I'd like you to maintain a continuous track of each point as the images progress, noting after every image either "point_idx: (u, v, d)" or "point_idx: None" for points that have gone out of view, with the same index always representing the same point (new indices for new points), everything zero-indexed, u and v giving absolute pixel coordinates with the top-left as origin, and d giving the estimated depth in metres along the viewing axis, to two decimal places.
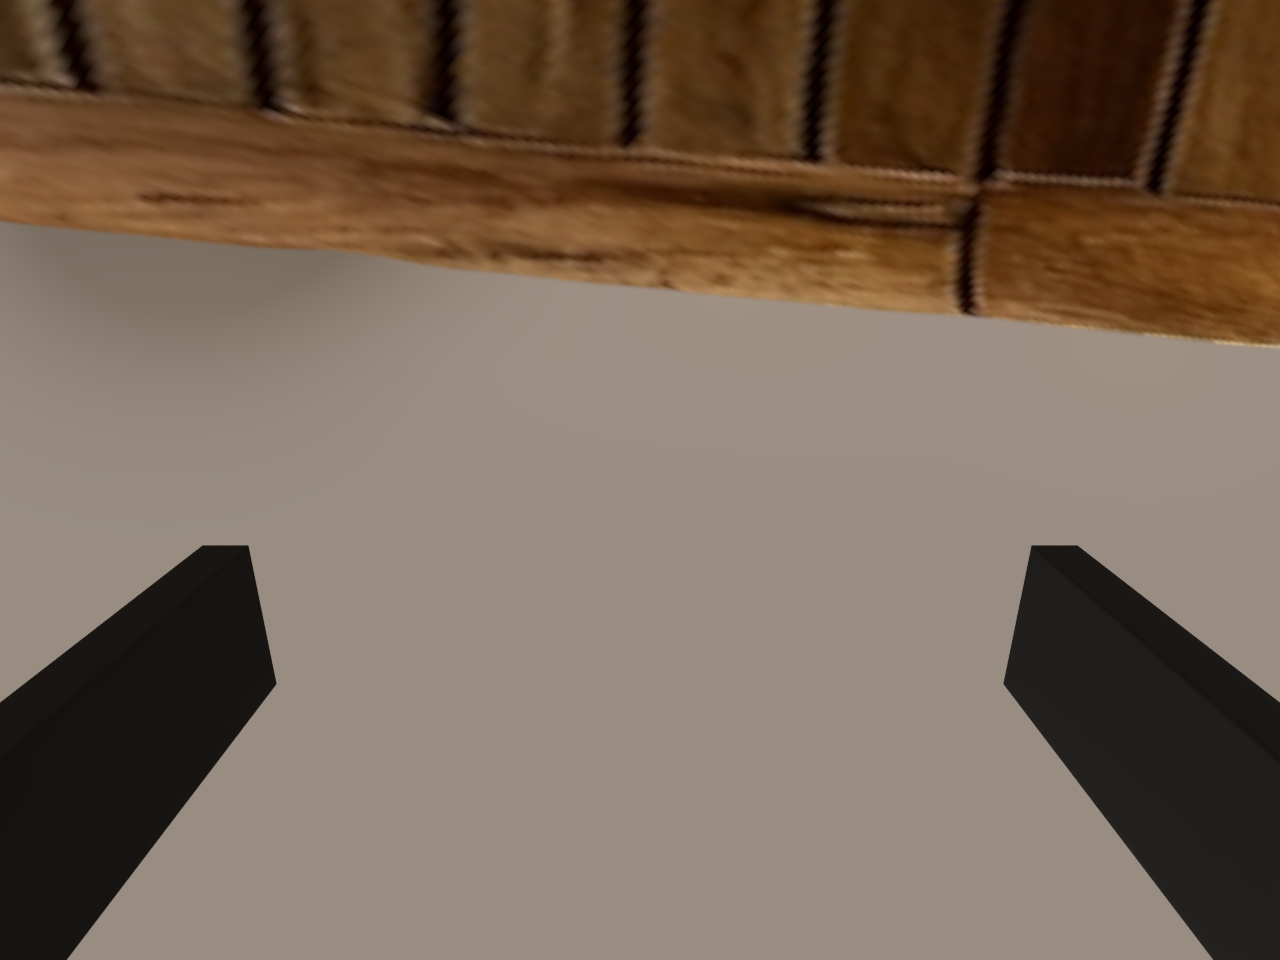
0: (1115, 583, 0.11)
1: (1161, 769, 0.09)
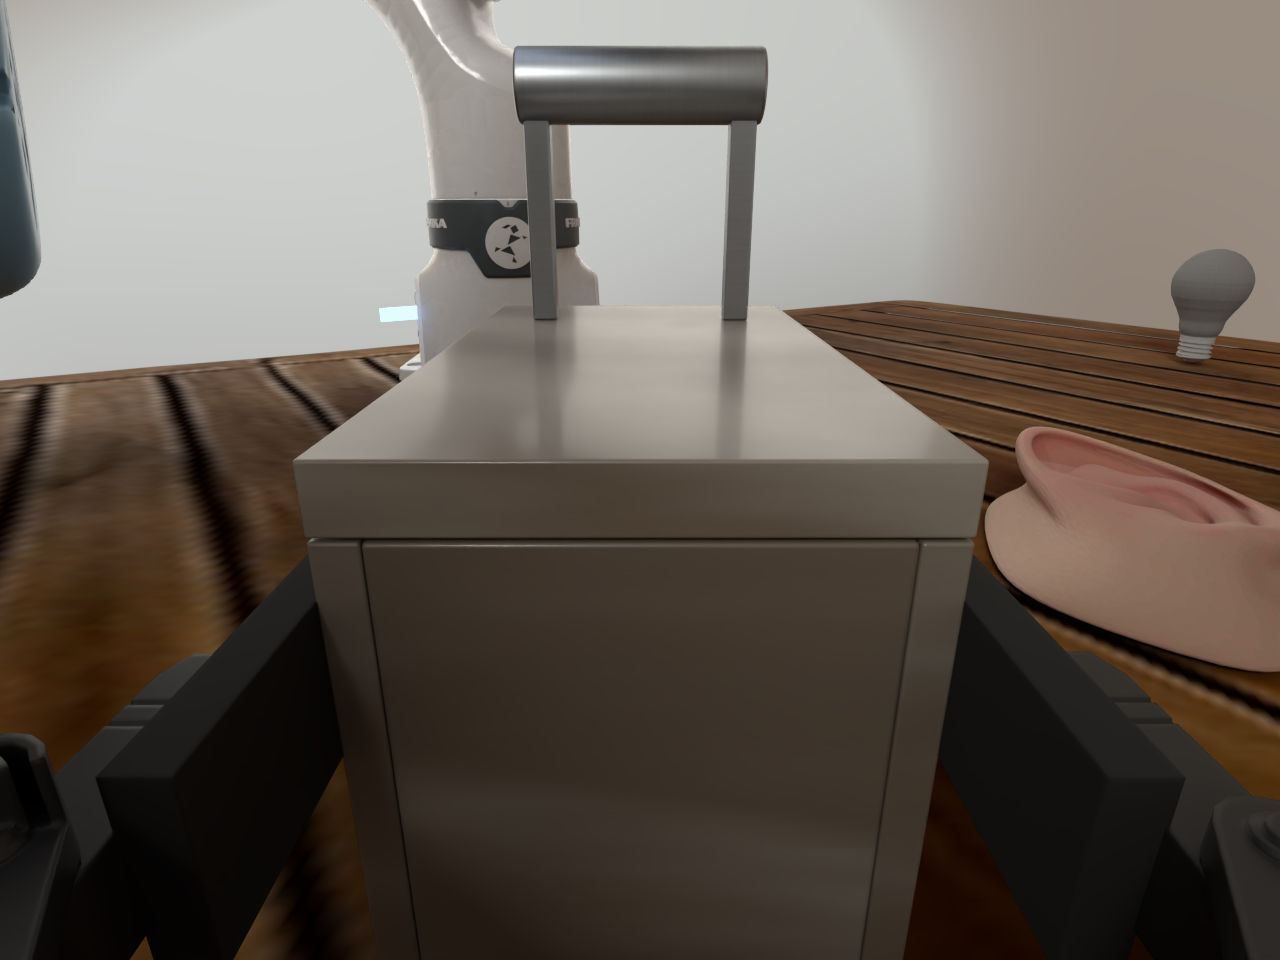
0: None
1: (968, 705, 0.10)
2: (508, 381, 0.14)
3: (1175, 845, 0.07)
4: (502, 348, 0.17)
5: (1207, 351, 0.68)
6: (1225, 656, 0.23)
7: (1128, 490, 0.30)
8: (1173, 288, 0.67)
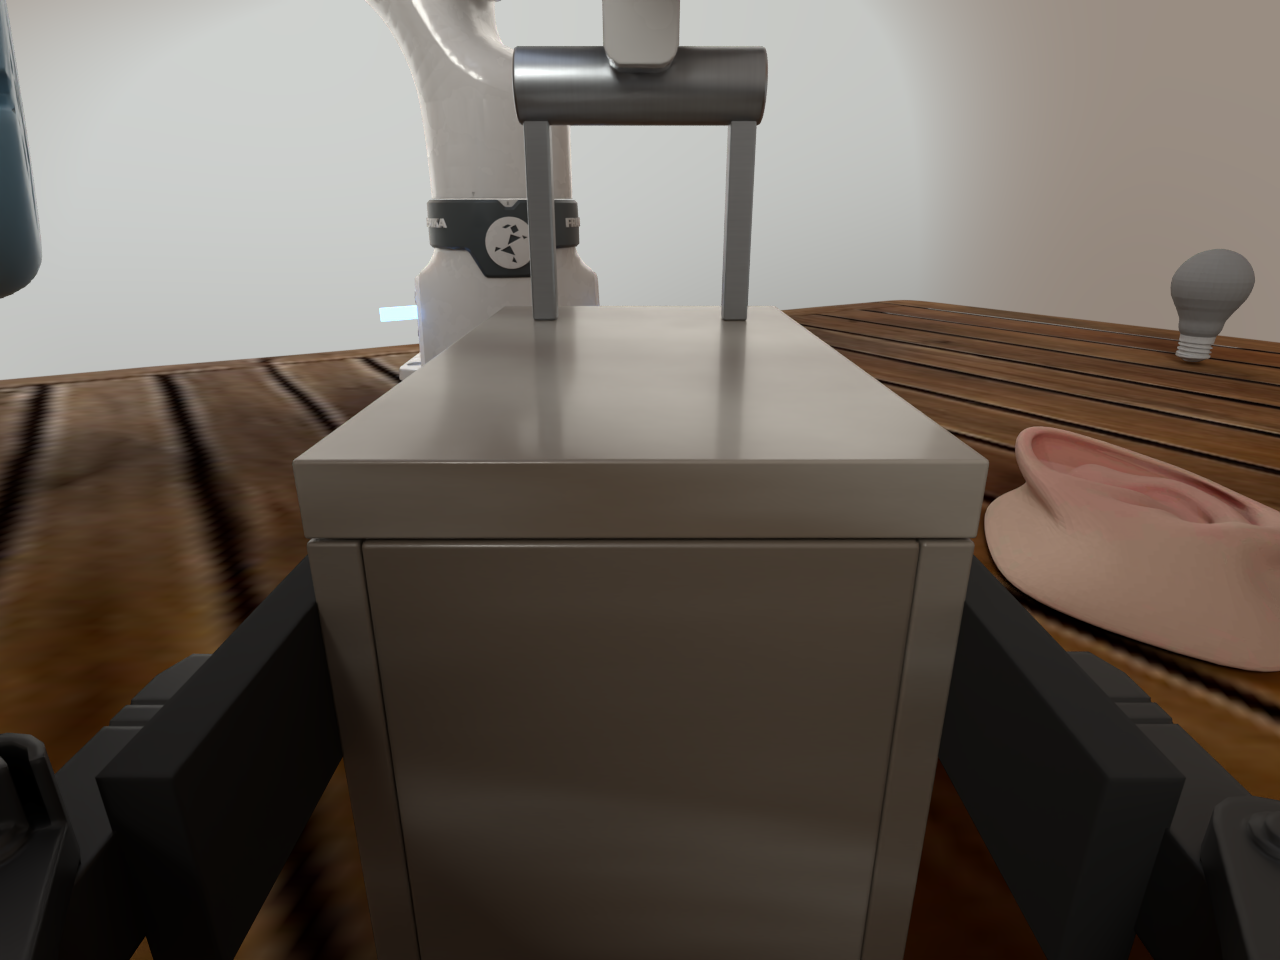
0: None
1: (968, 704, 0.10)
2: (508, 381, 0.14)
3: (1175, 844, 0.07)
4: (502, 348, 0.17)
5: (1207, 351, 0.68)
6: (1224, 656, 0.23)
7: (1127, 490, 0.30)
8: (1173, 288, 0.67)
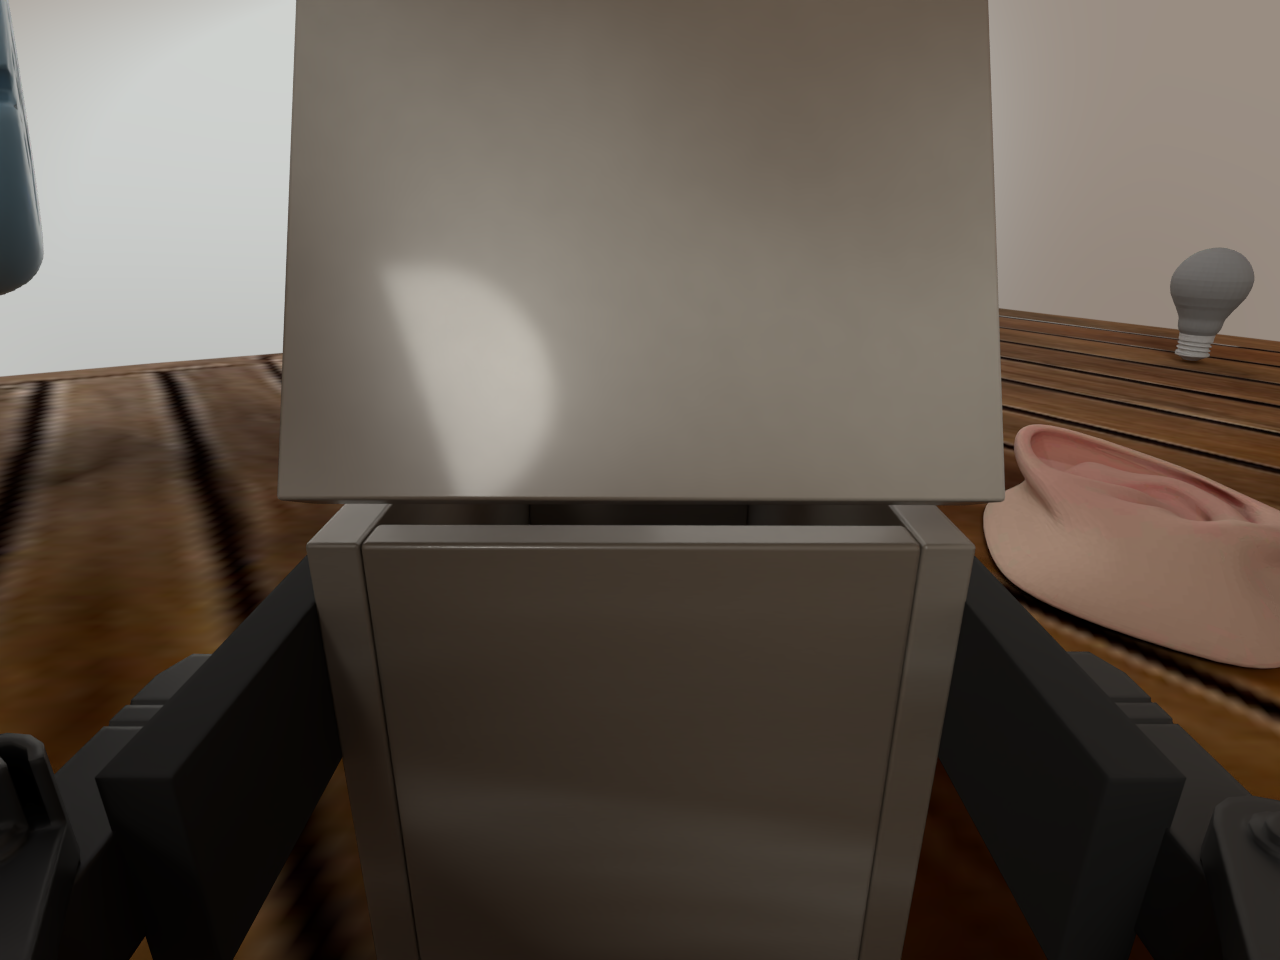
0: None
1: (967, 704, 0.10)
2: (449, 139, 0.10)
3: (1175, 845, 0.07)
4: None
5: (1206, 349, 0.68)
6: (1221, 652, 0.23)
7: (1126, 488, 0.30)
8: (1172, 286, 0.68)
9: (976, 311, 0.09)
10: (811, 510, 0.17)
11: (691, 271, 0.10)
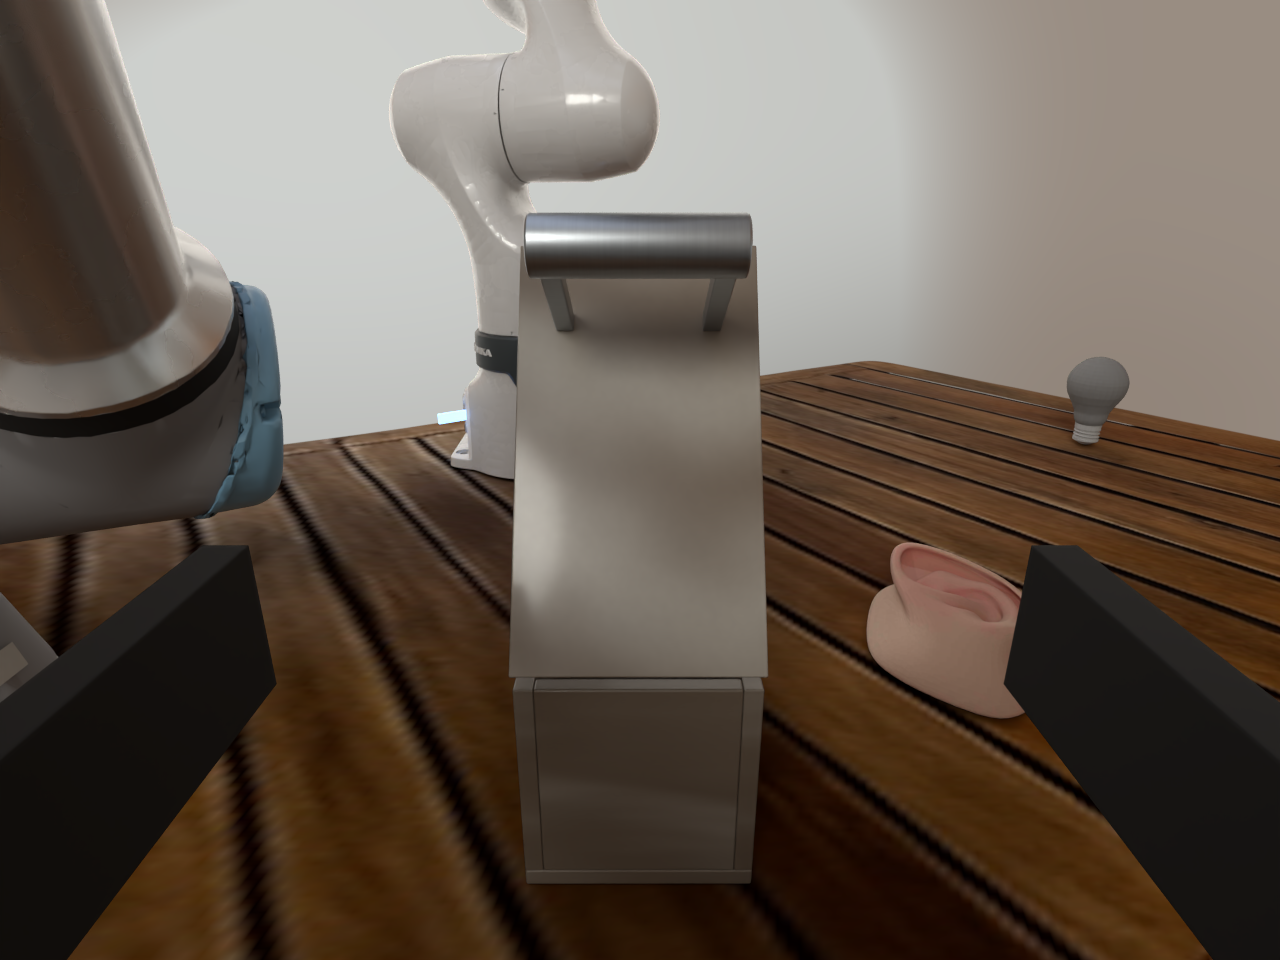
0: (1115, 583, 0.11)
1: (1161, 769, 0.09)
2: (569, 544, 0.27)
3: None
4: (551, 451, 0.27)
5: (1095, 436, 0.84)
6: (979, 709, 0.40)
7: (952, 595, 0.46)
8: (1067, 386, 0.84)
9: (757, 607, 0.26)
10: None
11: (655, 592, 0.27)
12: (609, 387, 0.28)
